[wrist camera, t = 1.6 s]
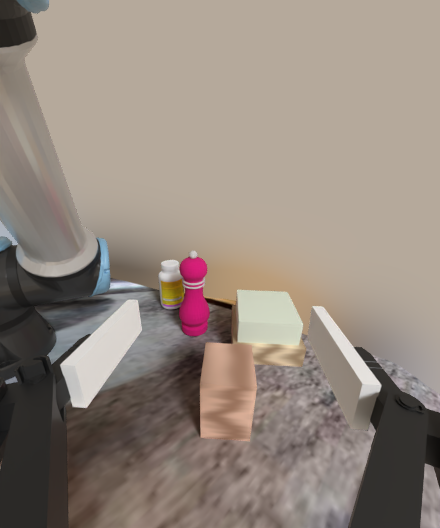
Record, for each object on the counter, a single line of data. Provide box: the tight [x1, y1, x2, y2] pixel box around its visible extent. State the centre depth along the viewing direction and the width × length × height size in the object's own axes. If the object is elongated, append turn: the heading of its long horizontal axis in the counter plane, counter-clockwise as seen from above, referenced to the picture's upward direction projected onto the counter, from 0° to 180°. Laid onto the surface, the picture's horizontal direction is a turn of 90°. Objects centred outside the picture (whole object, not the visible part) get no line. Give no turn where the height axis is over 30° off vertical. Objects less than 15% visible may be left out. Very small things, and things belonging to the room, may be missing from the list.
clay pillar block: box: [200, 342, 257, 441], centre depth 31 cm, size 7×7×11 cm
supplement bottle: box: [158, 260, 184, 309], centre depth 59 cm, size 7×7×13 cm
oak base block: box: [232, 305, 306, 367], centre depth 48 cm, size 14×14×5 cm
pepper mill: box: [179, 251, 210, 336], centre depth 48 cm, size 7×7×20 cm
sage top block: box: [236, 290, 303, 345], centre depth 46 cm, size 12×12×5 cm
